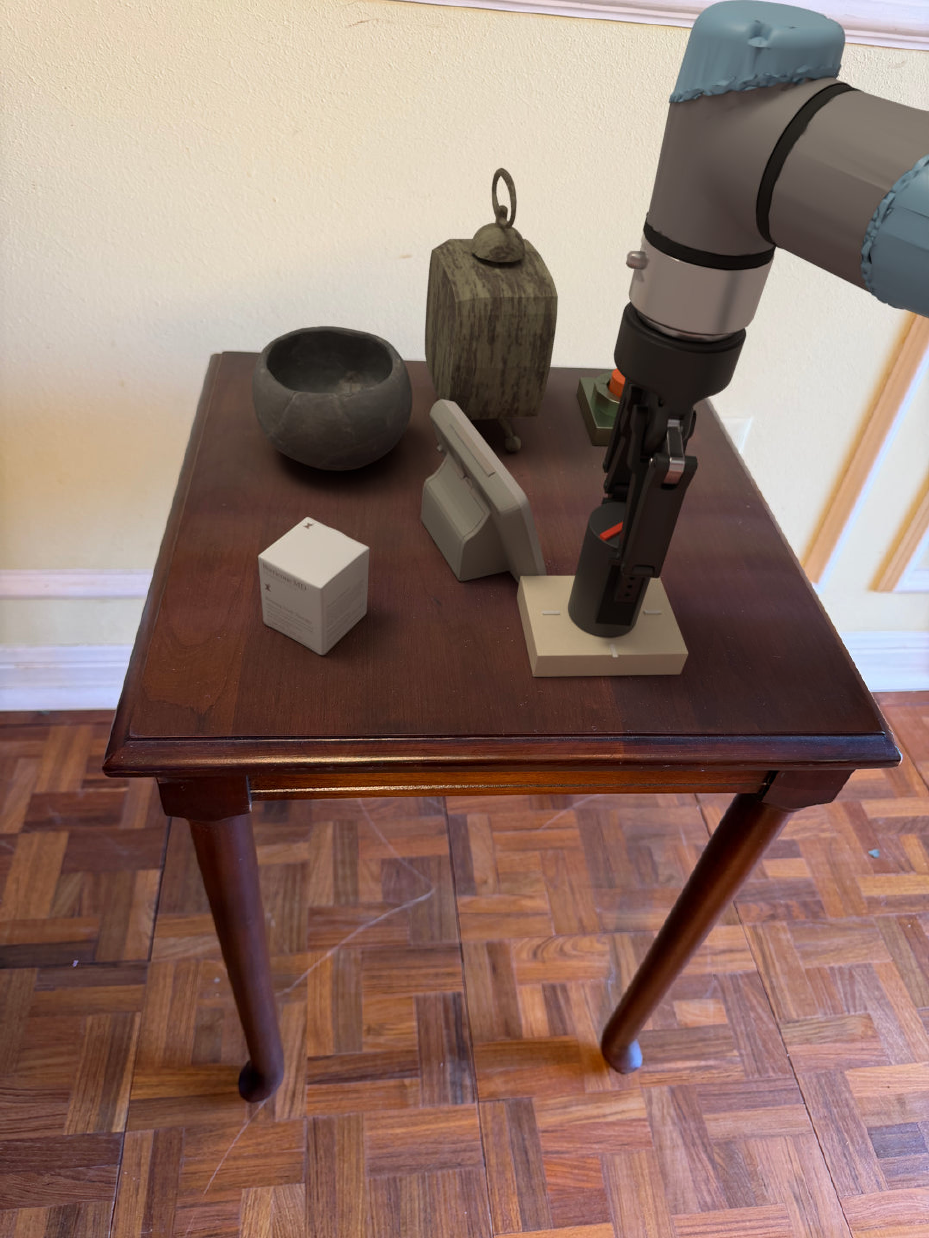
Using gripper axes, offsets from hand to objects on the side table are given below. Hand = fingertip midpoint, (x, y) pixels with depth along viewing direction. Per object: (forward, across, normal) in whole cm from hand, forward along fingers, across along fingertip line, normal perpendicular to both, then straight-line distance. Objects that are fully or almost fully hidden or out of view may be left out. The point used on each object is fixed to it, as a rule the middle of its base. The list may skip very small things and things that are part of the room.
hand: (607, 592), depth 70 cm
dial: (+2, 0, 0) cm, 2 cm away
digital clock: (+5, -11, -9) cm, 15 cm away
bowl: (+5, -23, -24) cm, 34 cm away
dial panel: (+5, 0, 0) cm, 5 cm away
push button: (+1, -33, +6) cm, 34 cm away
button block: (+5, -33, +6) cm, 34 cm away
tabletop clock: (+5, -30, -10) cm, 32 cm away
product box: (+5, 0, -23) cm, 23 cm away
